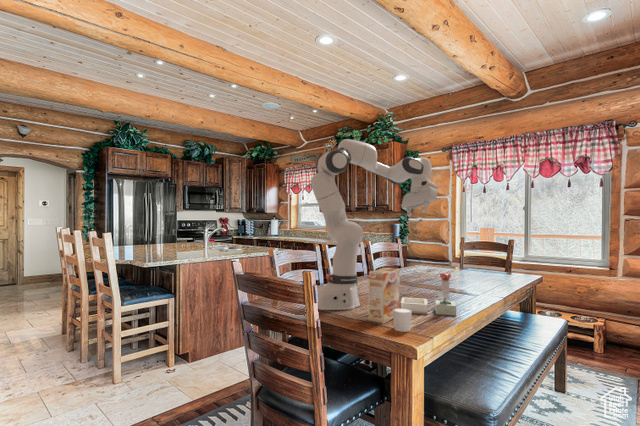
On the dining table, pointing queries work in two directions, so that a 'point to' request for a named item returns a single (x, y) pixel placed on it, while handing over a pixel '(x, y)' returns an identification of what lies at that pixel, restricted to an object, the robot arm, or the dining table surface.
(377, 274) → the coffeecake box
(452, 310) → the socket block
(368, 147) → the robot arm
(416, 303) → the tray
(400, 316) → the shot glass
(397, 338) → the dining table surface
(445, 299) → the pin
